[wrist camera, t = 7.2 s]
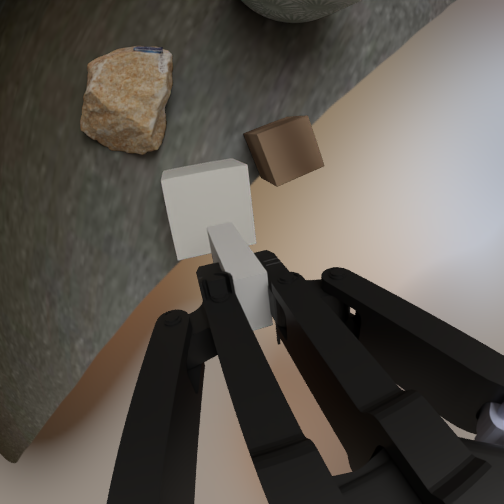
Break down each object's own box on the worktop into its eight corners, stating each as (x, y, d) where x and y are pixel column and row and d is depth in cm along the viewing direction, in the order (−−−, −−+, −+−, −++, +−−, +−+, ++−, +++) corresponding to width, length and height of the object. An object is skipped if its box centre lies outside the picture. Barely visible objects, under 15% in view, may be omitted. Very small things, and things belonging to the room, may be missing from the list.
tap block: (175, 236, 30) (177, 260, 24) (162, 170, 27) (160, 180, 21) (240, 223, 31) (256, 243, 26) (232, 158, 28) (247, 164, 23)
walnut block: (260, 177, 30) (277, 186, 25) (242, 133, 27) (257, 134, 23) (302, 159, 30) (324, 166, 26) (286, 116, 28) (307, 115, 23)
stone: (179, 53, 22) (181, 40, 18) (160, 154, 26) (158, 158, 22) (98, 50, 20) (86, 38, 16) (80, 150, 24) (65, 154, 20)
